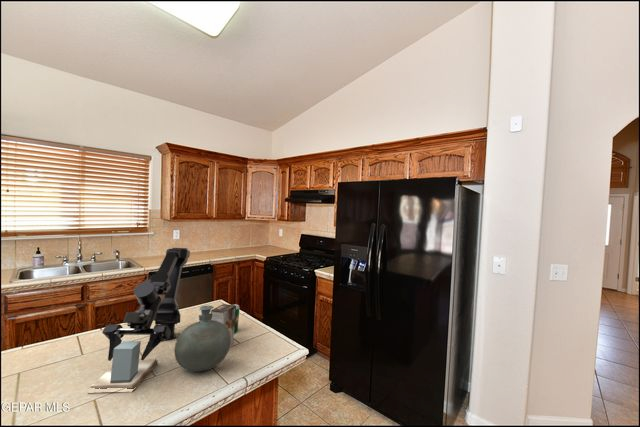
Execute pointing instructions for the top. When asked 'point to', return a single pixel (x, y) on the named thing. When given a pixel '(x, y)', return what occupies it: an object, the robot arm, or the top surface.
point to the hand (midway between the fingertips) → (125, 360)
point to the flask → (202, 343)
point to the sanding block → (125, 362)
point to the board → (143, 371)
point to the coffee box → (225, 317)
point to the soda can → (236, 318)
